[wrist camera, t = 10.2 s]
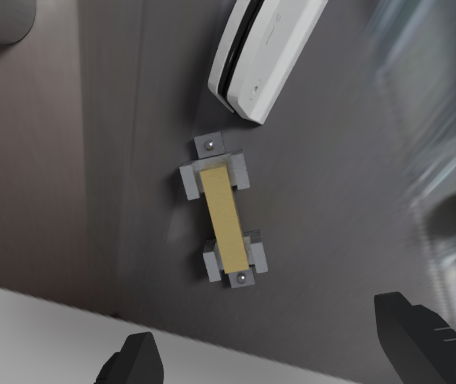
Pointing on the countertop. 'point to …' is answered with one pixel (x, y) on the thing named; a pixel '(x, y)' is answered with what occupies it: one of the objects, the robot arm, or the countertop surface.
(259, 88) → the white rounded housing
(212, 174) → the link bar
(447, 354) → the robot arm
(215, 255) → the linkage with metal pins
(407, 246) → the countertop surface
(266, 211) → the countertop surface
